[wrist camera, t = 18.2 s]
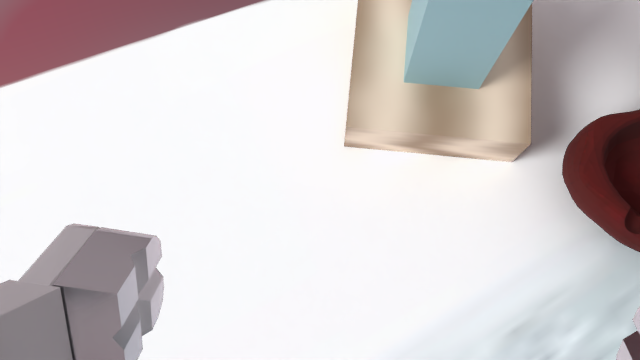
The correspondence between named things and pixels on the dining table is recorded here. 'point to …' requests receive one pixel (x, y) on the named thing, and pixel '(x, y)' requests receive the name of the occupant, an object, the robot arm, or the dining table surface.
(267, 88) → the dining table surface
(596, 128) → the ashtray
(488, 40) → the teal block
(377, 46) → the plinth
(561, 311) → the dining table surface
